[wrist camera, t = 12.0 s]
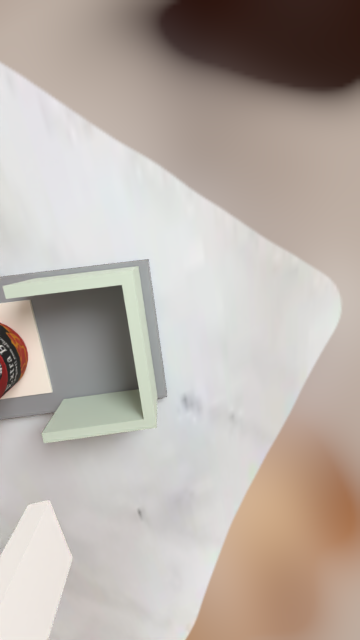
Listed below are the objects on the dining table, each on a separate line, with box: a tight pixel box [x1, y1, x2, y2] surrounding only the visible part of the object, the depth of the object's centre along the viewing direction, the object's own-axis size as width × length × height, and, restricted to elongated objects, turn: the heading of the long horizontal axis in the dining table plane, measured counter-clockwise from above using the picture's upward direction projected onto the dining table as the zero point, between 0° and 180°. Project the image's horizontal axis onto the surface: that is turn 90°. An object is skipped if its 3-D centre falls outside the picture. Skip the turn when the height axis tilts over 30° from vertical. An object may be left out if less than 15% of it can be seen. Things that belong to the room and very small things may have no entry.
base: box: [0, 259, 167, 420], centre depth 29 cm, size 22×15×4 cm
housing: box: [3, 266, 157, 443], centre depth 27 cm, size 10×14×6 cm
